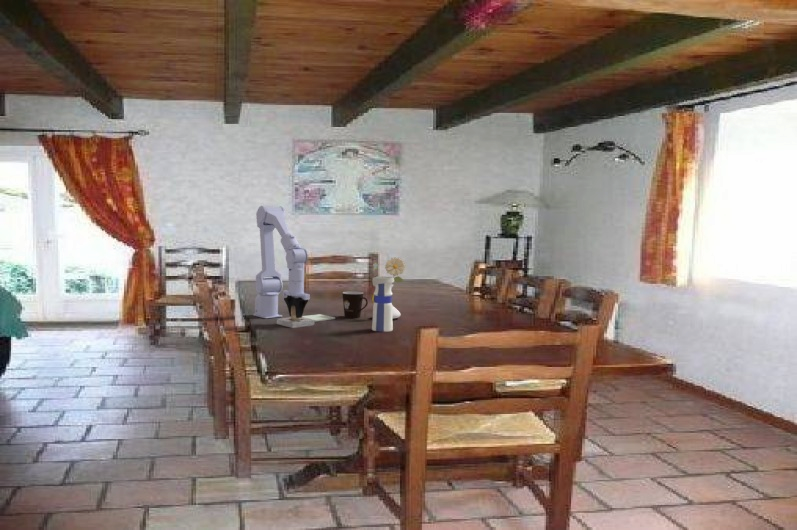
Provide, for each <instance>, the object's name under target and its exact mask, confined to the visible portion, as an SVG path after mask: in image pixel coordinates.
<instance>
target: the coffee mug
mask: <svg viewBox="0 0 797 530" xmlns="http://www.w3.org/2000/svg"><path fill="white" fill-rule="evenodd" d="M363 300H365V305H364V306H363V302H364V301H363ZM342 302H343V303H342V304H343V314H344V318H345V319H361V315H362V311H363V310H364V309H365V308H366V307H367V306H368V303H369V302H368V299H367V298H366V297H364V292H362V291H343V292H342Z"/></svg>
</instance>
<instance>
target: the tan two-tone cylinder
mask: <svg viewBox="0 0 797 530" xmlns="http://www.w3.org/2000/svg"><path fill="white" fill-rule="evenodd" d="M290 317H291V320H293V321H297V320H301V318H296V310H295V305H294V306H291V316H290Z"/></svg>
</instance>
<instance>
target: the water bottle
mask: <svg viewBox="0 0 797 530" xmlns="http://www.w3.org/2000/svg"><path fill="white" fill-rule="evenodd" d="M372 265H373V270H378V266H379V263H377V261H375V262H374V263H373V264H372ZM393 277H394V276H383V275H380V276H376V277H372V285H373V287H375V290H374V292H373V294H372V300H371V301H372V303H373V306H372V320H371V321H372V322H371V323H372V325H371V330H372V331H374V332H392V331H393V329H394V327H393V320H394V319H392V314H393V307H392V305H393V303H392V295H394V293H393V292H392V291H393V290H392V289H391V285H393V283H394V282H395V280H394V278H395V277H394V278H393Z"/></svg>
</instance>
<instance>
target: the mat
mask: <svg viewBox="0 0 797 530" xmlns="http://www.w3.org/2000/svg"><path fill="white" fill-rule="evenodd" d="M302 317H304V318H309V319H313V320H315V322H323V321H330V320H336V317H335V316H331V315H330V316H329V315H326V314H321V313H318V314H310V315H302Z"/></svg>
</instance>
